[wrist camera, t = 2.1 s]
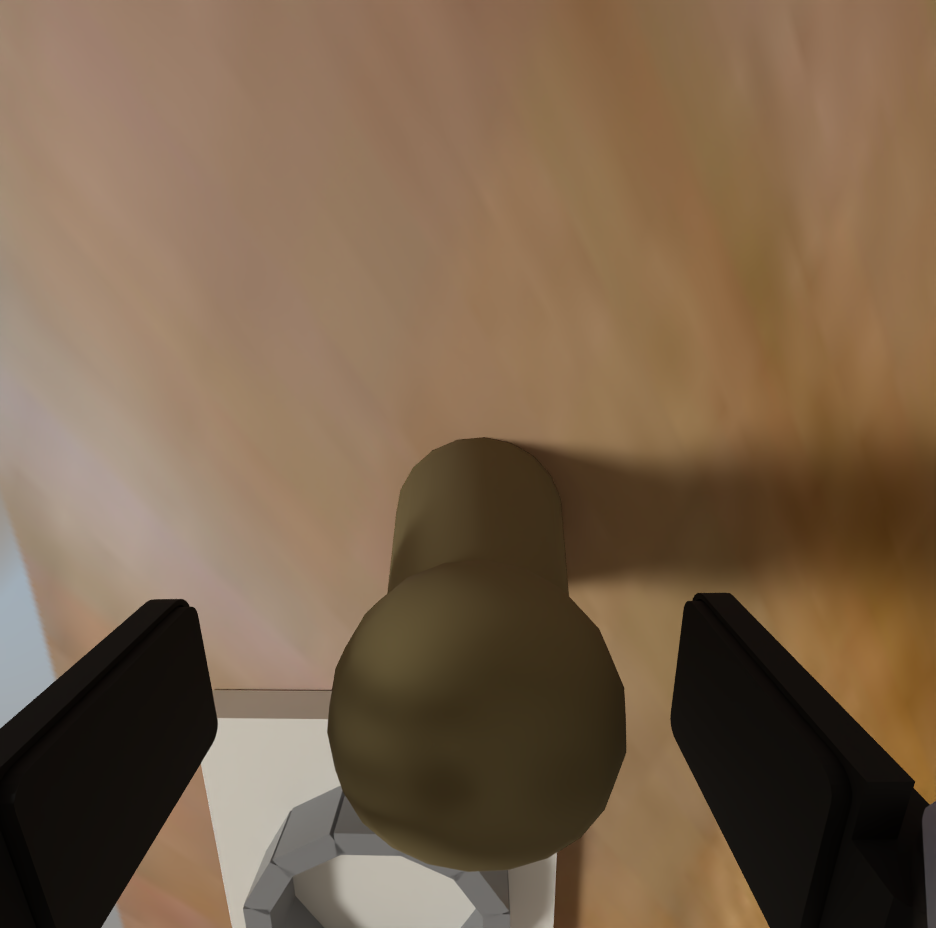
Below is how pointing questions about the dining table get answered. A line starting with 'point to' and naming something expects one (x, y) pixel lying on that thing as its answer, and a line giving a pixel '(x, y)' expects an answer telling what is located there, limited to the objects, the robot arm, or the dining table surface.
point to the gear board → (298, 769)
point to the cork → (477, 675)
